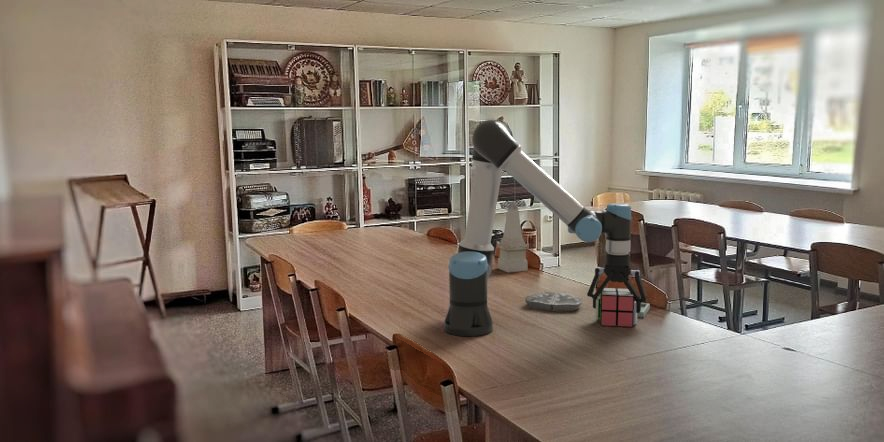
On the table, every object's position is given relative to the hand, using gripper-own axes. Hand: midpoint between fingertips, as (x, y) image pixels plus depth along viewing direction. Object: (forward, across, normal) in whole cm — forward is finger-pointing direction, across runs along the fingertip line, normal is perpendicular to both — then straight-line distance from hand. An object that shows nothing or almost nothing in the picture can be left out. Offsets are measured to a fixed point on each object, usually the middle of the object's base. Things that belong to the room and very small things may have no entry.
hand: (616, 320), depth 221 cm
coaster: (+1, -1, -15) cm, 15 cm away
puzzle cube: (+1, 0, 0) cm, 1 cm away
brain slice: (+1, +24, -12) cm, 27 cm away
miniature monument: (+1, +58, -64) cm, 86 cm away
